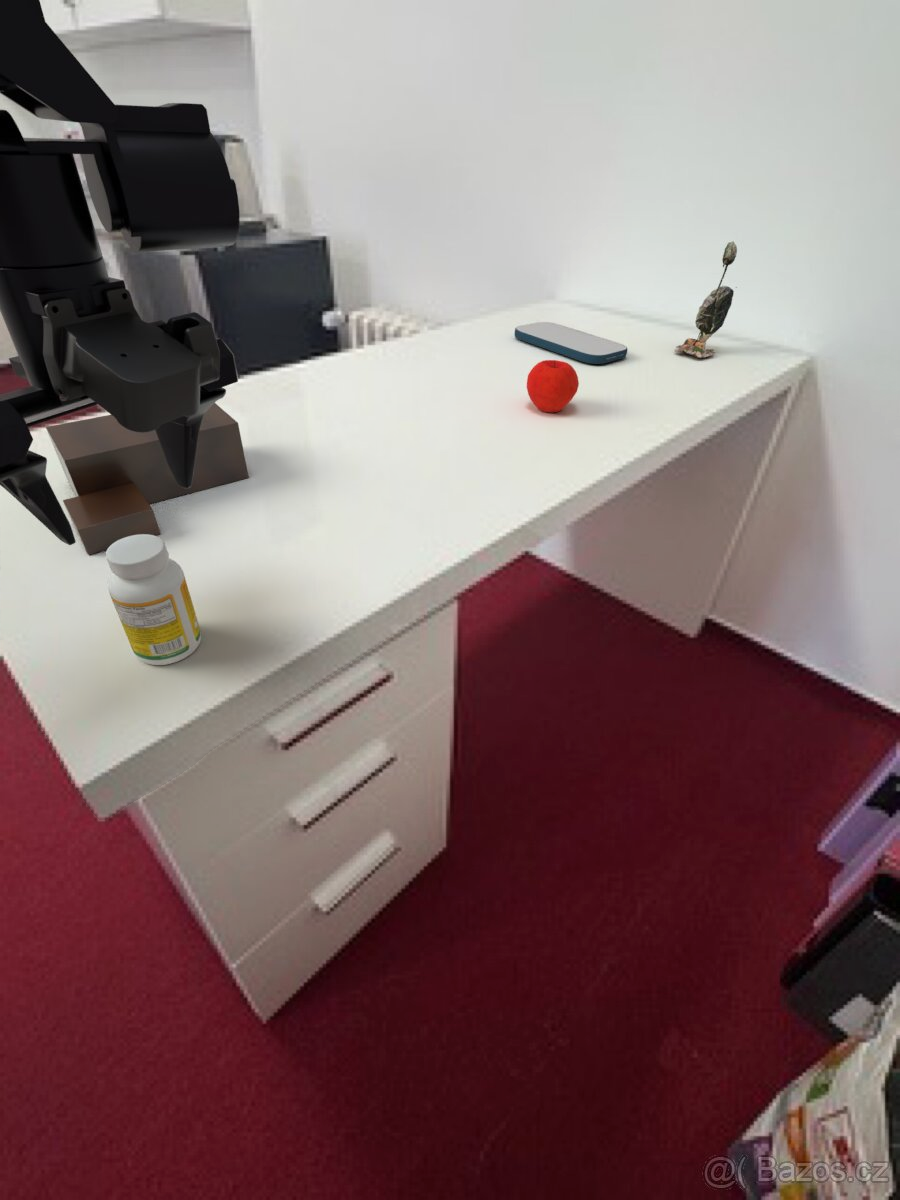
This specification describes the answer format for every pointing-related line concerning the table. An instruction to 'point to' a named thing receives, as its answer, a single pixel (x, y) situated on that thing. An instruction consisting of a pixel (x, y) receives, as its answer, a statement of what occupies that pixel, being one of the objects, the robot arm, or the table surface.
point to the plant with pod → (712, 312)
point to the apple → (552, 385)
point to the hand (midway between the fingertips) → (131, 512)
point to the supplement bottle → (152, 600)
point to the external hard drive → (571, 342)
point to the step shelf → (136, 473)
